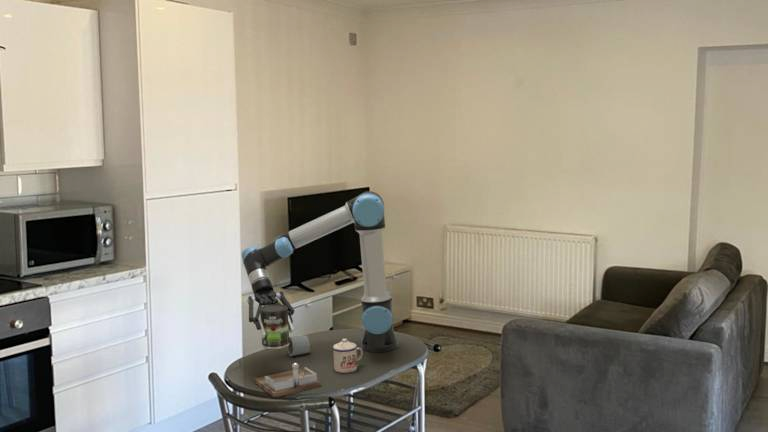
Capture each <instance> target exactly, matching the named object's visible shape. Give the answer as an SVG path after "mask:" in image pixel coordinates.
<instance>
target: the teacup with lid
mask: <svg viewBox="0 0 768 432" xmlns="http://www.w3.org/2000/svg"><path fill="white" fill-rule="evenodd" d="M332 350H333V366H334V367H333V369H334V371H335V372H337V373H342V374H344V373H345V374H347V373H352V372H355V371H356V370H357V369H358V361H360V360H361V359H362V357H363V354H364V353H363V351H364V350H363V349H362V348H361V347H358V346H357V344H356V343H354V342H351V341H349V340H348V339H347V338H342V339H341V340H340V341H339V342H338V343H335V344H333V347H332ZM358 351H359V355H358V354H357V353H358Z"/></svg>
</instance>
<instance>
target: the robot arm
mask: <svg viewBox="0 0 768 432" xmlns="http://www.w3.org/2000/svg"><path fill="white" fill-rule="evenodd" d="M385 218H386V217H385V203H384V199H383V198H382V196H381V195H380V194H378V193H377V192H375V191H364V192H362V193H360V194H359V195H357V196H356V197H353V198H352V199H349V200H348V201H346V202H345V205H343V206H341V207H339V208H336V209H335V210H332V211H330V212H327V213H326V214H324V215H321V216H318V217H317V218H315V219H313V220H311V221H308V222H306V223H303V224H302V225H300V226H298V227H296V228H294V229H291V230H289V231H287V232H284V233H283V234H279V235H277V236H274V238H273V240H272V241H271V242H270V243H268V244H267V245H265V246H263V247H261V248H259V247H258V246H254V245H253V246H247V247H246V248H245V249H243V250H242V252H241V259H242V263H243V266H244V268H245V272H246V275H247V278H248V281H249V283H250V286H251V290H252V292H253V296H252V295H248V298H247V304H248V322H249V323H253V324H254V326H255V328H256V330H257V331H259V333H260V336H261V340H262V339H263V338H265V335H266V333H265V330H264V327H263V324H262V321H261V318H260V308H261V307H263V306H267V305H285V306H287V307H288V325H289V334H293V331H294V327H293V322H294V319H293V317H292V316H293V315H294V314H295V308H293V306H292V304H291V303H290V302H289V300H288V299H287V298H286V295H284V291H282V290H281V291H280V292H276V291H275V290H274V287H273V284H272V282H271V278H270V275H269V273H268V269H267V268H268V267H270V266H271V265H273V264H275V263H277V262H279V261H282V260H283V259H286V258H288V257H289V256H291V255H292V254H293V253H294V250H296V249H298V248H302V246H303V247H304V246H305V245H308V244H310V243H312V242H313V241H315V240H319V239H320V238H323V237H324V236H327V235H329V234H331V233H333V232H335V231H338V230H340V229H343V228H344V227H347V226H348V225H351V224H354V230H355V232H356V233H358V234H359V245H360V256H361V257H360V259H361V268H362V269H361V270H362V281H363V290H364V291H363V292H364V293H363V295H362V297H361V298H360V302H361V313H362V314H361V315H362V316H361V323H362V325H363V328H364V329H363V334H362V338H361V340H360V348H361V349H362V351H365V352H369V353H370V352H371V353H385V352H391V351H393V350H396V349H397V348H398V346H399V343H398V342H399V341H398V338H397V336H396V333H395V330H394V326H393V325H394V317H393V296H392V292H390V291H387V280H386V279H387V278H386V269H385V256H384V245H383V244H384V243H383V231H384V230H385V229H386V219H385ZM255 301H256V302H257V303H258V305H257V310H256V314H255V316H254V303H255Z"/></svg>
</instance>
